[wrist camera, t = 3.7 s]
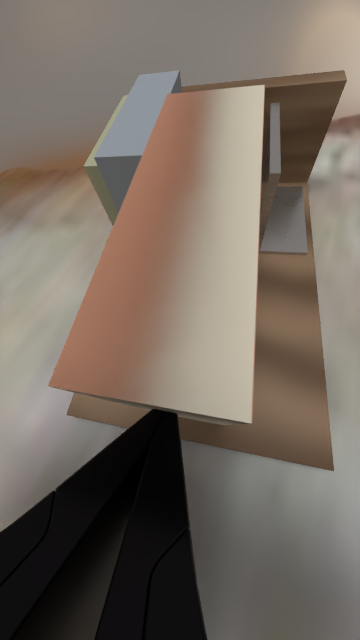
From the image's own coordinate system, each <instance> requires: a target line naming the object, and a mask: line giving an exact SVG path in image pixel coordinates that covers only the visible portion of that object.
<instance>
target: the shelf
mask: <svg viewBox="0 0 360 640" xmlns="http://www.w3.org/2000/svg"><path fill="white" fill-rule="evenodd" d="M346 81H347V79H346V75H345V72H344V71H333V72H324V73H313V74H303V75H293V76H284V77H275V78H264V79H255V80H244V81H235V82H225V83H215V84H205V85H196V86H186V87H181V90H182V93H184V92H194V91H204V90H215V89H225V88H235V87H246V86H256V85H265V97H264V123H263V143H264V137H265V132H266V126H267V121H268V115H269V109H270V104H271V103H279V102H280V154H281V174H280V178H279V182H278V185H277V187H287V186H303V199H304V212H305V224H306V237H307V249H308V253H307V255H284V254H261V253H259V258H258V284H257V311H256V338H255V365H254V392H253V418H252V424H239V425H226V426H224V425H219V424H214V423H209V422H203V421H198V420H193V419H188V418H182V417H178V421H179V430H180V439H184V440H188V441H193V442H198V443H203V444H207V445H212V446H217V447H222V448H226V449H231V450H236V451H241V452H246V453H250V454H255V455H260V456H265V457H269V458H274V459H279V460H284V461H288V462H293V463H298V464H303V465H307V466H312V467H317V468H322V469H327V470H331V471H334V466H333V456H332V445H331V434H330V423H329V413H328V402H327V391H326V380H325V370H324V359H323V348H322V337H321V327H320V316H319V305H318V294H317V284H316V273H315V262H314V251H313V241H312V230H311V219H310V209H309V198H308V187H307V181H308V179H309V176H310V174H311V171H312V169H313V166H314V163H315V161H316V158H317V156H318V153H319V151H320V148H321V145H322V143H323V140H324V138H325V135H326V133H327V130H328V127H329V125H330V122H331V120H332V117H333V114H334V112H335V109H336V107H337V104H338V102H339V99H340V96H341V94H342V91H343V89H344V86H345V83H346ZM148 412H149V411H147V410H143V409H139V408H135V407H131V406H127V405H123V404H119V403H115V402H111V401H107V400H103V399H99V398H95V397H91V396H87V395H82V394H78V393H74V395H73V398H72V400H71V403H70V406H69V409H68V412H67V414H66V415H69V416H74V417H79V418H84V419H88V420H93V421H98V422H103V423H107V424H112V425H117V426H122V427H126V428H130V427H131V426H132V425H133V424H135V423H136V422H137V421H138V420H139V419H141V418H142V417H143V416H144V415H146V414H147V413H148Z"/></svg>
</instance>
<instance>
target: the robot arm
mask: <svg viewBox="0 0 360 640" xmlns="http://www.w3.org/2000/svg"><path fill="white" fill-rule="evenodd" d="M0 640H207V635H206V630H205V624H204V619H203V613H202V608H201V602H200V597H199V591H198V586H197V578H196V571H195V564H194V556H193V548H192V539H191V531H190V522H189V513H188V504H187V495H186V485H185V476H184V467H183V458H182V449H181V440H180V430H179V421H178V414H177V413H173V412H167V411H162V410H157V409H152V410H150V411H149V412H148V413H147V414H146V415H144V416H143V417H142V418H141V419H139V420H138V421H137V422H136V423H135V424H133V425H132V426H131V427H130V428H129V429H127V430H126V431H125V432H124V433H122V434H121V435H120V436H119V437H118V438H116V439H115V440H114V441H113V442H112V443H110V444H109V445H108V446H107V447H105V448H104V449H103V450H102V451H101V452H99V453H98V454H97V455H96V456H95V457H93V458H92V459H91V460H90V461H89V462H87V463H86V464H85V465H84V466H82V467H81V468H80V469H79V470H78V471H76V472H75V473H74V474H73V475H72V476H70V477H69V478H68V479H67V480H65V481H64V482H63V483H62V484H61V485H59V486H58V487H57V488H56V491H52V492H51V493H49V494H48V495H47V496H46V497H45V498H43V499H42V500H41V501H40V502H39V503H37V504H36V505H35V506H34V507H32V508H31V509H30V510H28V511H27V512H26V513H25V514H23V515H22V516H21V517H20V518H18V519H17V520H16V521H15V522H13V523H12V524H11V525H9V526H8V527H7V528H5V529H4V530H3V531H1V532H0Z"/></svg>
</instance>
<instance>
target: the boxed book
mask: <svg viewBox="0 0 360 640" xmlns="http://www.w3.org/2000/svg"><path fill="white" fill-rule="evenodd" d="M264 97H265V85H256V86H246V87H235V88H225V89H215V90H204V91H194V92H184V93H173V94H167V96H166V99H165V101H164V104H163V106H162V108H161V111H160V113H159V116H158V118H157V121H156V123H155V126H154V128H153V130H152V133H151V135H150V138H149V140H148V143H147V145H146V148H145V150H144V152H143V155H142V157H141V160H140V162H139V165H138V167H137V170H136V172H135V174H134V177H133V179H132V182H131V184H130V187H129V189H128V192H127V194H126V196H125V199H124V201H123V204H122V206H121V209H120V211H119V213H118V216H117V218H116V221H115V223H114V226H113V228H112V231H111V233H110V235H109V238H108V240H107V243H106V245H105V248H104V250H103V253H102V255H101V257H100V260H99V262H98V265H97V267H96V270H95V272H94V275H93V277H92V279H91V282H90V284H89V287H88V289H87V292H86V294H85V297H84V299H83V301H82V304H81V306H80V309H79V311H78V314H77V316H76V319H75V321H74V323H73V326H72V328H71V331H70V333H69V336H68V338H67V341H66V343H65V345H64V348H63V350H62V353H61V355H60V358H59V360H58V363H57V365H56V367H55V370H54V372H53V375H52V377H51V380H50V382H49V385H48V386H50V387H54V388H58V389H62V390H66V391H70V392H74V393H78V394H82V395H87V396H91V397H95V398H99V399H103V400H107V401H111V402H115V403H119V404H123V405H127V406H131V407H135V408H139V409H143V410H147V411H150V410H152V409H157V410H162V411H167V412H173V413H177V414H178V417H182V418H188V419H193V420H198V421H203V422H209V423H214V424H219V425H224V426H226V425H239V424H252V418H253V392H254V365H255V338H256V311H257V284H258V258H259V231H260V204H261V177H262V150H263V123H264Z"/></svg>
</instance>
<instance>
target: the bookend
mask: <svg viewBox="0 0 360 640" xmlns="http://www.w3.org/2000/svg"><path fill="white" fill-rule="evenodd" d="M280 174H281V154H280V102H279V103H271V104H270V109H269V115H268V121H267V126H266V132H265V137H264V143H263V150H262V177H261V204H260V231H259V253H261V254H284V255H307V253H308V249H307V237H306V224H305V212H304V199H303V186H287V187H277V185H278V182H279V178H280Z"/></svg>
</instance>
